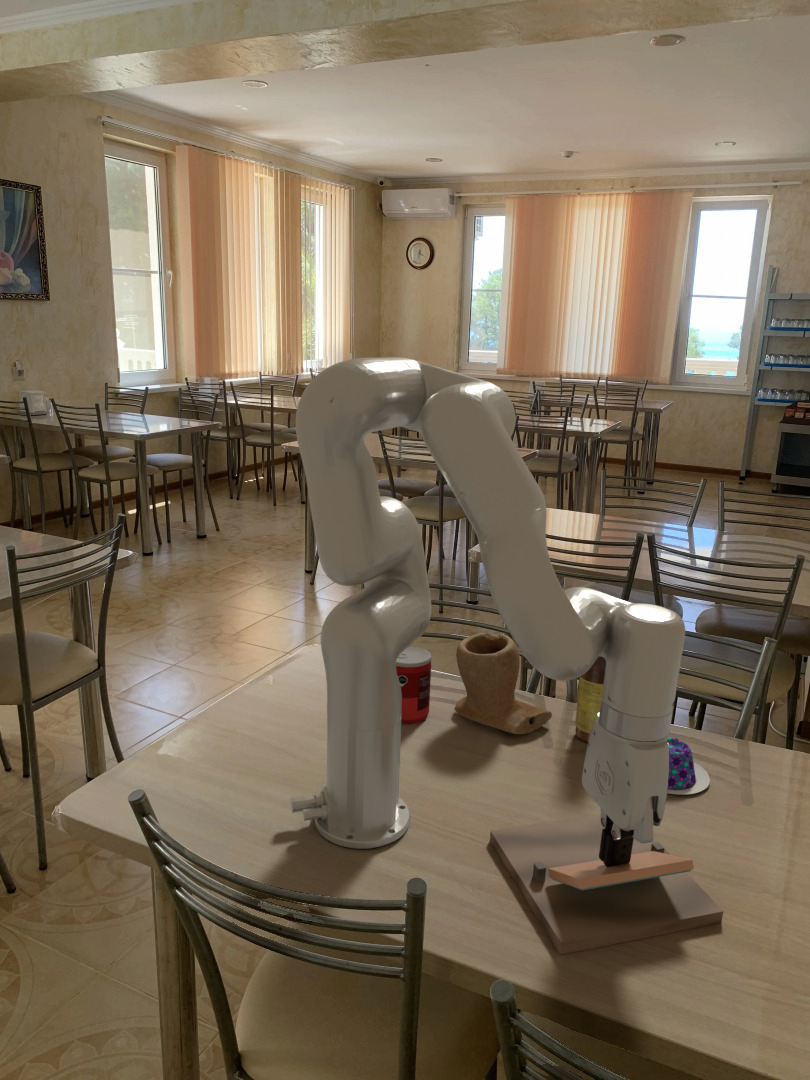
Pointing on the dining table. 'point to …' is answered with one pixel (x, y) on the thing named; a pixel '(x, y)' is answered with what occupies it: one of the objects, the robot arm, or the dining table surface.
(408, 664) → the canned food
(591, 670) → the sauce bottle
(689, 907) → the board
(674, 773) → the patterned brimmed hat
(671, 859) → the tile
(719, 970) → the dining table surface
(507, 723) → the clay platform pipe
